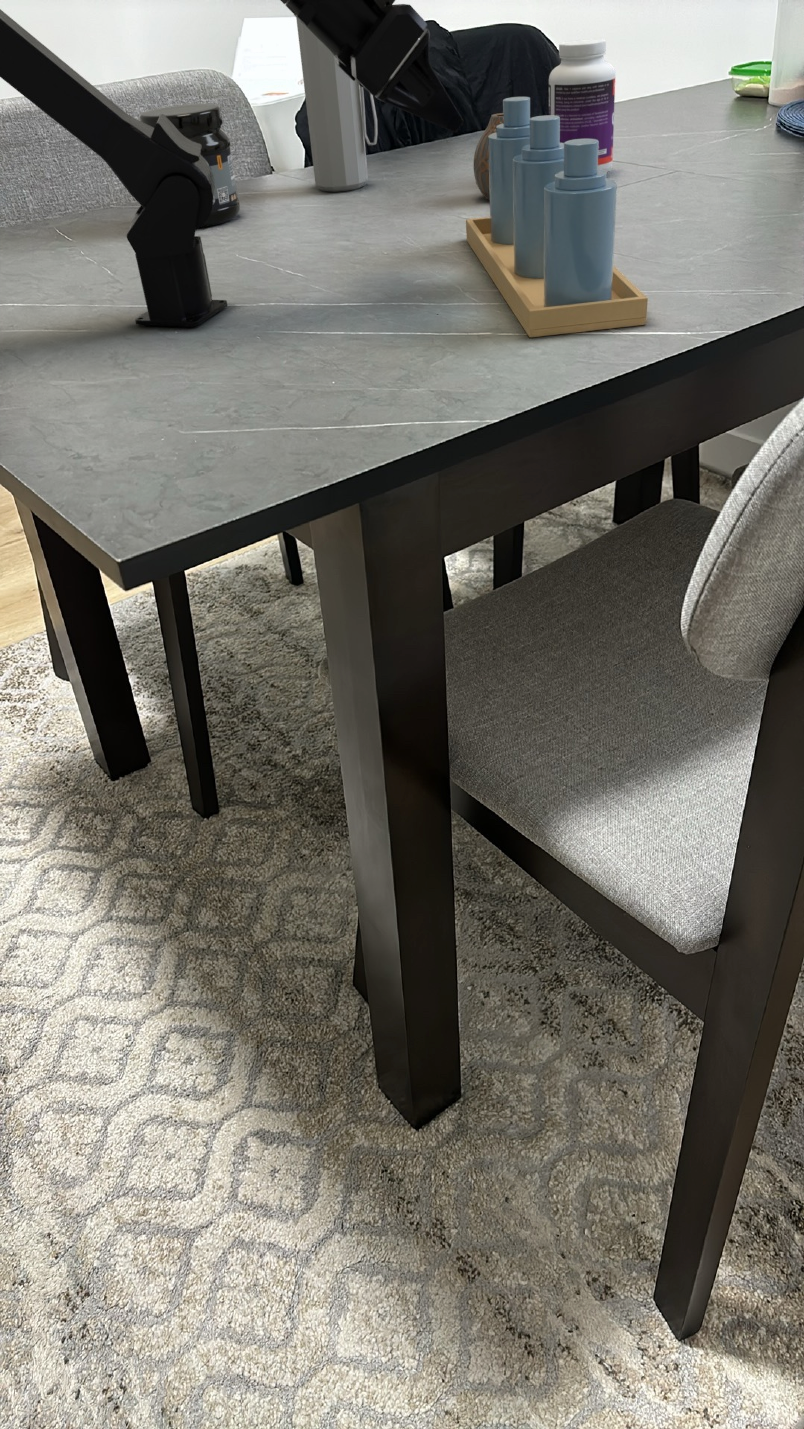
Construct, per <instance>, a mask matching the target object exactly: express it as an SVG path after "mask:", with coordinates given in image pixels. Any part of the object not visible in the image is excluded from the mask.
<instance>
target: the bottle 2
mask: <svg viewBox="0 0 804 1429" xmlns="http://www.w3.org/2000/svg"><path fill="white" fill-rule="evenodd" d="M598 146H599V141H598V140H596V139H574V140H569V141H566V142H565V143H564V171H561V172H559V173H556V174H555V176H554V182H552V183H549V184H547V185H546V186H545V187H544V287H543V307H552V306H561V305H570V304H579V303H588V302H597V301H606V300H612V281H613V265H614V256H615V235H616V234H615V232H616V231H615V230H616V211H617V188H618V183H617V181H615V180H613V179H610V178H607V177H608V176H607V175H608V173H607V172H606V171H604V170H601V169H598Z"/></svg>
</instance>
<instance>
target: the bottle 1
mask: <svg viewBox="0 0 804 1429" xmlns="http://www.w3.org/2000/svg"><path fill="white" fill-rule="evenodd" d="M502 113H503V124H500V125H498V126H496V133H493V134H490V135H489V136H488V148H489V191H490V200H489V217H490V233H491V241H492V242H494V243H498V244H506V245H514V238H513V158H514V157H516V156H518V155H521V154H522V147H524V146H526V145H530V118H531V97H530V96H511V97H506V98H504V99H503V100H502Z"/></svg>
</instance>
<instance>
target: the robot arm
mask: <svg viewBox="0 0 804 1429" xmlns="http://www.w3.org/2000/svg"><path fill="white" fill-rule="evenodd" d="M280 2H281V3H282V4H283V5H285V7H286V8H287V9H288V10H289V11H290V12H291V13H292V14H293V16H294V17H295V19H296V18H297V19H298V20H299V21H300V22H301V23H302V24H303V25H305V26H306V27H307V28H308V29H309V30H310V31H311V32H312V33H313V34H314V35H315V36H316V37H317V38H318V39H319V40H320V41H321V42H322V43H323V44H324V45H325V46H326V47H327V48H328V49H329V50H330V51H331V52H332V54H333V55H334V56H335V62H336V64H337V65H338V66H339V67H340V68H341V69H342V70H343V71H344V72H345V73H346V74H347V75H348V76H349V77H350V78H351V79H352V80H353V81H355V79H356V80H357V84H359V85H360V86H361V87H363V89H365V90H366V91H367V92H368V93H369V95H370V94H372V95H373V98H376V99H377V100H379V101H381V102H384V103H386V104H388V105H390V106H393V107H395V108H397V109H400V110H402V111H404V112H407V113H409V114H411V115H414V116H416V117H419V118H421V119H423V120H425V121H428V122H430V123H432V124H434V125H437V126H439V127H441V128H444V129H446V130H448V131H451V132H453V133H457V132H458V130H459V129H460V128H461V127H462V125H463V124H464V119H463V118H462V115H461V114H460V112H459V111H458V109H457V107H456V106H455V104H454V102H453V101H452V99H451V97H450V95H449V94H448V92H447V91H446V89H445V87H444V86H443V84H442V83H441V81H440V79H439V77H438V75H437V74H436V72H435V70H434V69H433V66H432V65H431V63H430V39H431V33H430V30H429V28H427V27H428V23H427V22H426V20H425V19H423V17H422V16H421V15H420V13H418V12H417V10H415V9H414V7H413V6H412V5H411V4H407V3H398V4H397V3H395V2H396V0H280ZM394 3H395V4H394ZM0 79H2V80H3V81H4V82H6V83H7V84H8V85H9V86H11V87H12V88H13V89H15V90H16V91H17V92H18V93H20V94H21V95H22V96H23V97H24V98H26V99H27V100H28V101H30V102H31V103H32V104H33V105H35V106H36V107H37V108H38V109H40V110H41V111H42V112H44V113H45V114H46V115H47V116H48V117H50V119H52V120H53V121H54V122H56V123H57V124H58V125H60V127H62V128H63V129H65V130H66V131H67V132H69V133H70V134H71V135H73V136H74V137H75V138H76V139H77V140H79V141H80V142H81V143H82V144H84V145H85V146H86V147H87V148H89V149H90V150H91V151H93V152H94V153H95V154H96V155H97V156H98V157H100V158H101V159H102V160H103V161H104V162H105V163H106V164H107V166H108V167H109V168H110V169H111V171H112V172H113V173H114V175H115V176H116V178H117V179H118V180H119V181H120V183H121V184H122V185H123V186H124V188H125V189H126V190H127V192H128V193H129V194H130V195H131V196H132V197H133V199H134V200H135V201H136V202H137V203H138V204H139V205H140V206H139V207H138V209H137V210H136V212H135V213H134V216H133V218H132V221H131V224H130V226H129V228H128V231H127V234H126V240H127V241H128V243H129V246H130V247H131V248H132V250H133V251H134V253H135V254H134V255H135V260H136V265H137V269H138V274H139V278H140V282H141V287H142V291H143V296H144V300H145V305H146V310H147V311H146V312H144V313H142V314H141V315H139V316H137V317H136V318H135V320H134V321H135V325H137V326H156V327H157V326H163V327H192V328H193V327H199V326H200V325H201V324H203V323H204V322H206V321H208V320H209V319H210V318H212V317H213V316H215V315H217V314H218V313H219V312H221V311H223V310H224V309H225V308H226V307H228V305H229V304H228V301H227V300H226V299H213V294H212V289H211V288H212V287H211V284H210V278H209V272H208V267H207V262H206V261H207V260H206V255H205V253H204V248H203V243H202V237H201V236H200V235H197V236H196V232H197V229H200V228H199V227H201V226H202V225H203V223H204V222H205V221H206V220H207V219H208V217H209V215H210V213H211V211H212V206H213V197H214V189H215V183H214V177H213V173H212V169H211V167H210V166H209V164H208V162H207V161H206V160H205V159H204V158H203V156H202V155H200V153H201V148H202V145H201V144H199V143H196V142H193V141H191V140H189V139H188V138H186V137H185V136H183V135H182V134H181V133H180V132H179V131H178V130H177V128H176V127H175V126H174V125H173V124H172V123H171V122H170V120H169V119H168V118H167V117H166V116H165V115H164V114H161V115H160V117H159V119H158V121H157V123H156V125H155V128H153V127H151V126H149V125H147V124H145V123H143V122H141V121H140V119H137V118H135V117H133V116H131V115H130V114H128V113H127V112H125V111H124V110H123V109H122V108H121V107H119V105H117V104H116V103H114V102H113V101H112V99H110V98H108V97H107V96H106V95H105V94H104V93H102V92H101V91H100V90H99V89H98V88H97V87H95V86H94V85H93V84H92V83H90V82H89V81H88V80H87V79H86V78H84V77H83V76H82V75H81V74H80V73H78V72H77V71H76V70H75V69H73V67H71V66H70V65H68V64H67V63H66V62H65V61H64V60H62V59H61V58H60V57H59V56H58V55H56V53H54V52H53V51H52V50H51V49H49V48H48V47H47V46H45V45H44V44H43V43H42V42H41V41H40V40H38V39H37V38H36V37H35V36H34V35H32V34H31V33H30V32H28V30H26V29H25V28H24V27H23V26H21V24H19V23H18V22H17V21H15V20H14V19H13V18H12V17H11V16H10V15H8V14H7V13H5V12H4V10H2V9H1V8H0ZM201 228H202V227H201Z"/></svg>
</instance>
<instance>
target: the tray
mask: <svg viewBox="0 0 804 1429" xmlns="http://www.w3.org/2000/svg"><path fill="white" fill-rule="evenodd" d="M465 231H466V232H465V233H466V235H465V236H466V242H467V244H468V245H469V246H470V248H471V249H472V251H473V252H474V254H475V255H476V257H477V258H478V260H479V262H480V264H482V266H483V268H484V269H485V271H486V272H487V274H488V276H489V277H490V279H491V280H492V282H493V283H494V285H495V287H496V288H497V289H498V291H499V293H500V295H501V296H502V297H503V299H504V300H505V302H506V303H507V305H508V306H509V308H510V310H511V311H512V313H513V314H514V316H515V317H516V319H517V321H518V322H519V323H520V325H521V327H522V328H523V330H524V331H525V333H526V334H527V336H528V337H529V338H539V337H547V336H554V335H565V334H566V335H567V334H574V333H575V334H576V333H582V332H591V331H600V330H608V329H619V328H627V327H636V326H645V325H647V316H648V315H647V314H648V301H649V300H648V299H649V298H648V297H647V296H646V295H645V294H644V293H643V291H641V290H640V289H639V288H638V287H637V286H636V285H635V284H633V282H632V281H631V280H629V278H627V277H626V276H625V275H624V274H623V273H622V272H621V271H620V270H619V269H618V268H617V267H615V265H614V264H613V281H612V300H606V301H597V302H588V303H579V304H570V305H561V306H552V307H543V287H544V278H525V277H521V276H518V275H516V274H515V273H514V245H506V244H498V243H494V242H492V241H491V233H490V216H484V217H474V218H466V219H465Z"/></svg>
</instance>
